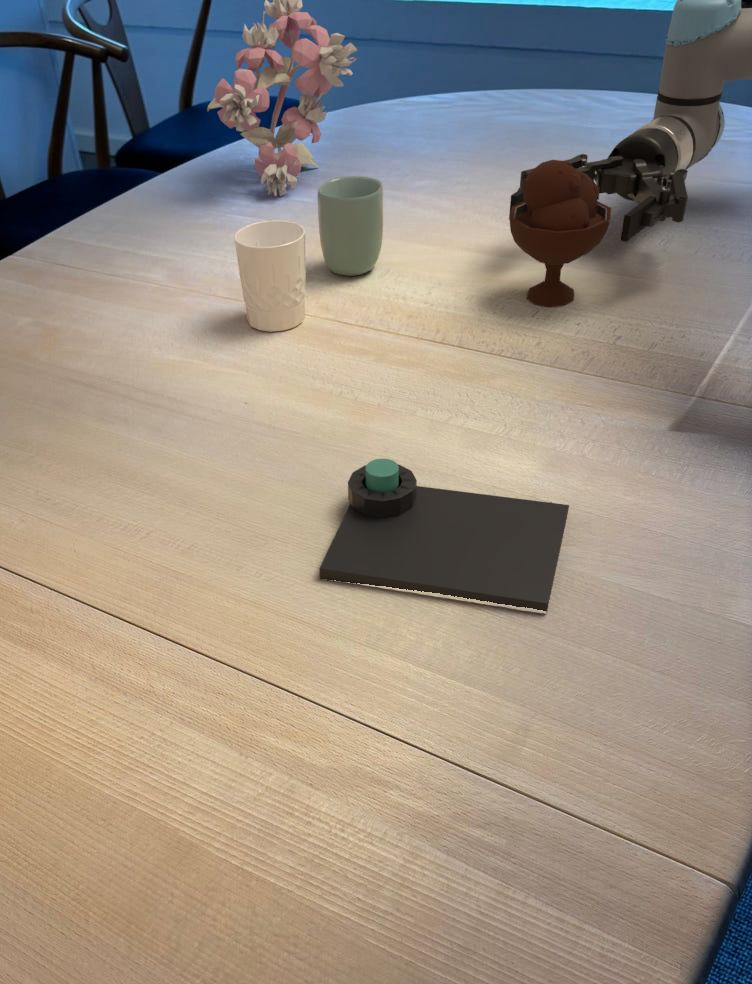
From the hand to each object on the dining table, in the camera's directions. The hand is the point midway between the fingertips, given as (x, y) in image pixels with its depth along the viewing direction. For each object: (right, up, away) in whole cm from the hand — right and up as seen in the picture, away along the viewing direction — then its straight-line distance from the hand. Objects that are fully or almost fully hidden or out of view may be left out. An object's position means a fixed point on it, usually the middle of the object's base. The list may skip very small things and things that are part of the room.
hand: (567, 218), depth 109 cm
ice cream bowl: (-1, -7, +5) cm, 9 cm away
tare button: (-24, -34, -25) cm, 48 cm away
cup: (-23, 0, +15) cm, 27 cm away
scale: (-19, -39, -28) cm, 52 cm away
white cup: (-32, -10, +6) cm, 34 cm away
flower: (-31, +23, +40) cm, 56 cm away
